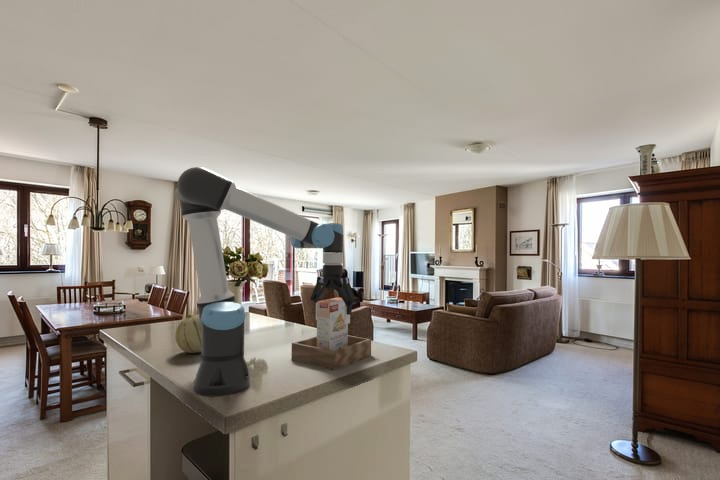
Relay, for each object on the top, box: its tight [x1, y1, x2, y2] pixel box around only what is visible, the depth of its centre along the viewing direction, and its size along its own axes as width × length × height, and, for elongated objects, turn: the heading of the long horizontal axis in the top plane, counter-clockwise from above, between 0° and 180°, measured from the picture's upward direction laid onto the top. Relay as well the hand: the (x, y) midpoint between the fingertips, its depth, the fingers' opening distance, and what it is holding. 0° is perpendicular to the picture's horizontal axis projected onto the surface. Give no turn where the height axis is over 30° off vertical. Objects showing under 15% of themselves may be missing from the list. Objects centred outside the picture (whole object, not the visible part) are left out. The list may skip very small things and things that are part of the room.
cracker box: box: [316, 297, 349, 351], centre depth 133 cm, size 14×6×21 cm, turn 154°
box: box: [291, 334, 372, 371], centre depth 133 cm, size 22×20×6 cm
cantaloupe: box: [174, 313, 202, 354], centre depth 139 cm, size 15×15×15 cm
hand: (332, 321), depth 133 cm, fingers open, 13 cm apart
